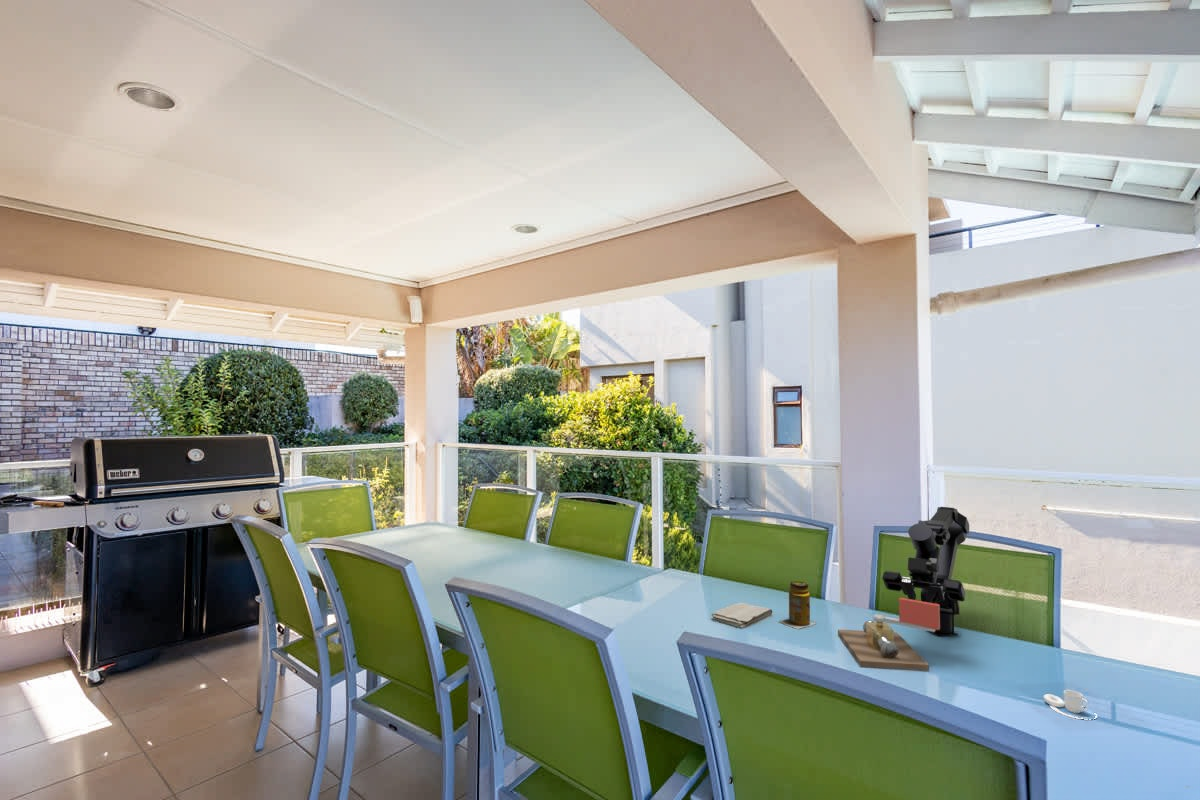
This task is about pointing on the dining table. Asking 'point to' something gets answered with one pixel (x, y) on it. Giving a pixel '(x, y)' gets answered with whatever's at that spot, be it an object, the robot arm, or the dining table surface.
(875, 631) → the ball valve
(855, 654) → the mounting board
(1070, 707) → the teacup and saucer
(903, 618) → the valve lever
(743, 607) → the washcloth
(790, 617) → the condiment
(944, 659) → the dining table surface
